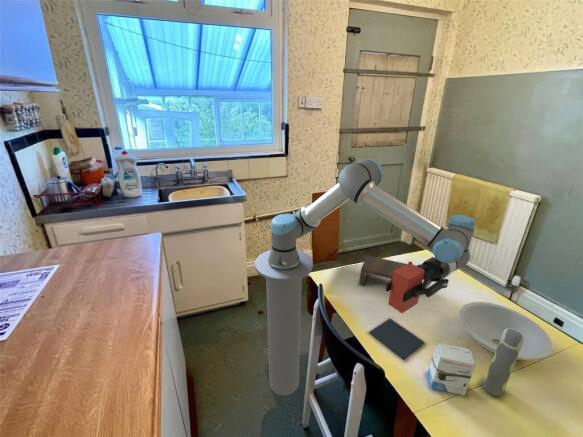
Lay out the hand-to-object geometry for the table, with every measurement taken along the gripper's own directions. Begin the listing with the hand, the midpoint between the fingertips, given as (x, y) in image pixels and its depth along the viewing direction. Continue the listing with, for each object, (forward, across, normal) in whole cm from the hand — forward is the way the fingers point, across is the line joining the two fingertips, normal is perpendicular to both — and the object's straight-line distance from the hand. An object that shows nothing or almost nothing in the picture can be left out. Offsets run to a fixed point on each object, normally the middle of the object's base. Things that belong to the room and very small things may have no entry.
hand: (395, 292), depth 82 cm
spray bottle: (-11, -26, -21) cm, 35 cm away
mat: (-5, 0, -20) cm, 21 cm away
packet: (-5, 0, -7) cm, 8 cm away
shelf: (-27, +22, -20) cm, 41 cm away
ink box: (-2, -18, -21) cm, 28 cm away
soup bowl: (-30, -20, -21) cm, 42 cm away
